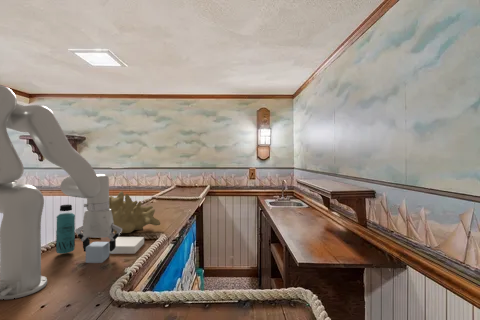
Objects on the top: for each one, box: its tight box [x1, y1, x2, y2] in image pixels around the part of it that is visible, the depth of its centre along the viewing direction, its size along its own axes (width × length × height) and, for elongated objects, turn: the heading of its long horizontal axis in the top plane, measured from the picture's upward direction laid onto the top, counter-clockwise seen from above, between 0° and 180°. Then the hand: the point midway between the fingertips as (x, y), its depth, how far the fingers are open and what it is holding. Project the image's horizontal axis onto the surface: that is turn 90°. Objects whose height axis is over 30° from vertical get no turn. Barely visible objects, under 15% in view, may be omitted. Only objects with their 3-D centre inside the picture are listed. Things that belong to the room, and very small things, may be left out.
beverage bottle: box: [55, 204, 76, 255], centre depth 107 cm, size 6×7×20 cm
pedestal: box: [109, 236, 145, 255], centre depth 115 cm, size 12×12×3 cm
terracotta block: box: [100, 232, 114, 242], centre depth 119 cm, size 5×5×5 cm
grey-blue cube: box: [85, 241, 110, 264], centre depth 103 cm, size 6×6×6 cm
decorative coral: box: [109, 190, 161, 234], centre depth 138 cm, size 26×22×25 cm
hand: (99, 250), depth 104 cm, fingers open, 9 cm apart
